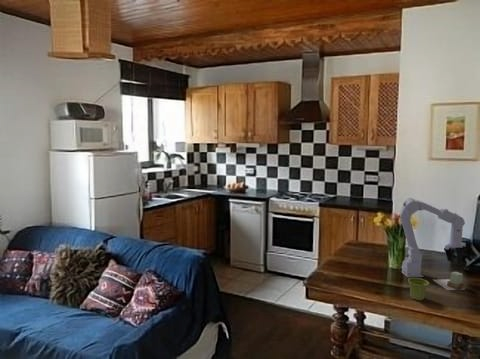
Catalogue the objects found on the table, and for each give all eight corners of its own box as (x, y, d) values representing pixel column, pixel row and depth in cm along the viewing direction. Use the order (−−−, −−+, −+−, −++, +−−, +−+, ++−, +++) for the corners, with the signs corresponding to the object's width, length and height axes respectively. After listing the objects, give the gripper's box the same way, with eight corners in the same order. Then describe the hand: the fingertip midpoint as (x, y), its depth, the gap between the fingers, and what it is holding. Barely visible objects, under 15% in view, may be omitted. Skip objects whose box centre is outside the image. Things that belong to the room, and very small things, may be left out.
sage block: (457, 284, 207) (457, 275, 206) (450, 281, 211) (450, 272, 210) (462, 283, 209) (462, 274, 208) (455, 280, 212) (455, 271, 212)
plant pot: (422, 293, 202) (423, 277, 201) (431, 302, 193) (432, 284, 192) (403, 294, 202) (404, 277, 201) (412, 302, 193) (413, 285, 192)
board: (447, 291, 206) (447, 289, 206) (432, 280, 220) (432, 279, 220) (465, 290, 207) (465, 289, 207) (449, 280, 221) (449, 279, 221)
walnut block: (457, 289, 206) (457, 285, 206) (447, 285, 211) (447, 281, 211) (465, 288, 208) (465, 283, 208) (454, 283, 214) (455, 279, 214)
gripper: (453, 240, 214) (451, 264, 216) (471, 237, 220) (469, 260, 222) (442, 236, 221) (440, 260, 222) (459, 234, 227) (458, 257, 228)
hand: (454, 260), depth 223 cm, fingers open, 7 cm apart
